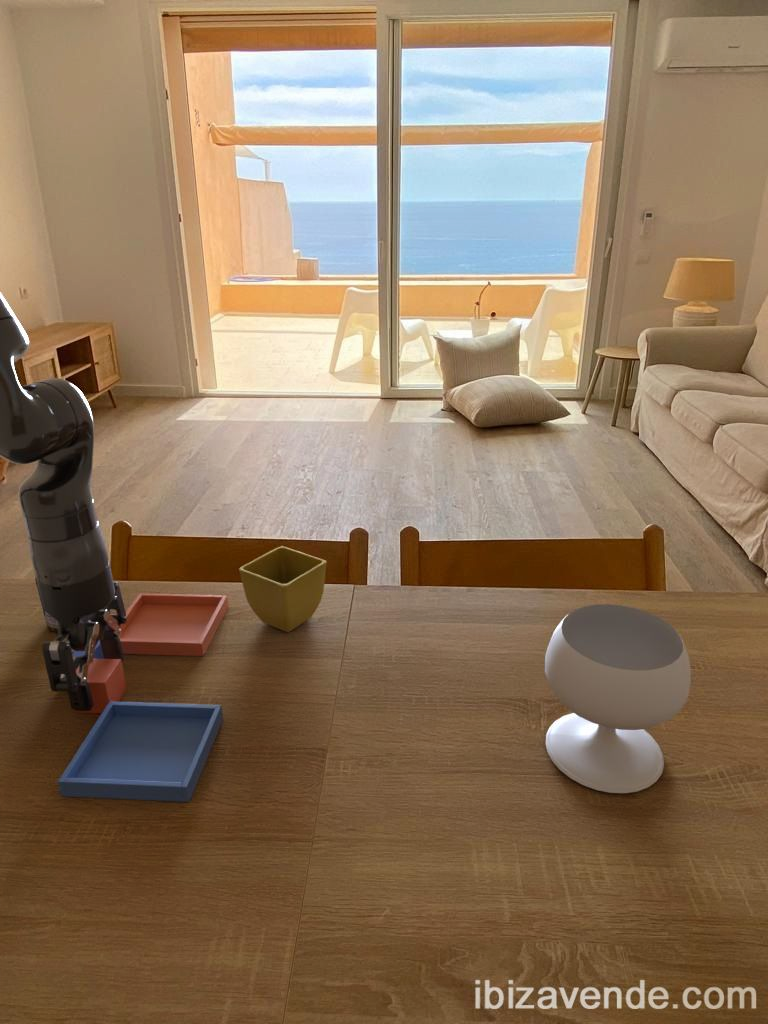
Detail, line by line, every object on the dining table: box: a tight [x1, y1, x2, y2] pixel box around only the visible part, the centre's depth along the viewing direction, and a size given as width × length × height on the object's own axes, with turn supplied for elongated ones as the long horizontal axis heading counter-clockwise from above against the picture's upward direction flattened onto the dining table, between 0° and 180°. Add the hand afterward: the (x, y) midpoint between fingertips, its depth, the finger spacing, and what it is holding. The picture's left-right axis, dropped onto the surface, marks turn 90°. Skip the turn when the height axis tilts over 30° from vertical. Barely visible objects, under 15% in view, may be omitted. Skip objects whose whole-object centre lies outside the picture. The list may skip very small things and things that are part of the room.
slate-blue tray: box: [57, 701, 224, 803], centre depth 75 cm, size 13×12×2 cm
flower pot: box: [238, 545, 327, 633], centre depth 97 cm, size 9×9×9 cm
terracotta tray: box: [120, 592, 229, 657], centre depth 97 cm, size 13×12×2 cm
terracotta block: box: [73, 659, 128, 714], centre depth 82 cm, size 4×4×4 cm
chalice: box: [544, 603, 692, 794], centre depth 71 cm, size 14×14×15 cm
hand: (100, 685), depth 82 cm, fingers open, 8 cm apart
